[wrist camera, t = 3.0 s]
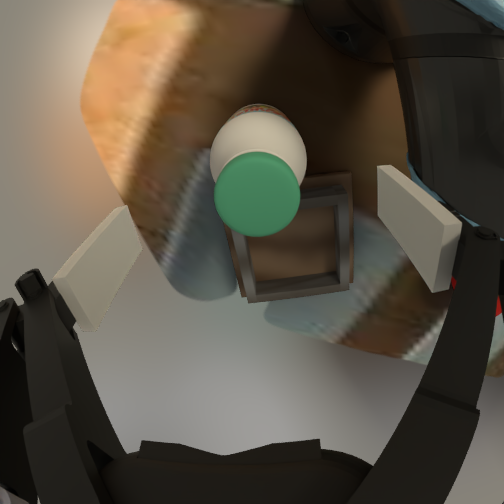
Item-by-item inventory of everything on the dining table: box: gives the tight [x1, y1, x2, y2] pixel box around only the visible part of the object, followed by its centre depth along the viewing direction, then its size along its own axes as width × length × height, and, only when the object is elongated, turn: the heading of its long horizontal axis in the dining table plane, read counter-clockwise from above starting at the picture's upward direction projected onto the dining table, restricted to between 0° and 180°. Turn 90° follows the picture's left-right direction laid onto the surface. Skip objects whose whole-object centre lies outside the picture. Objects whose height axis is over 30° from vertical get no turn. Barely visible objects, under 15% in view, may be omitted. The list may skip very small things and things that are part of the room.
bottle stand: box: [223, 171, 354, 303], centre depth 38 cm, size 16×16×4 cm
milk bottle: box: [210, 104, 307, 237], centre depth 24 cm, size 8×8×20 cm
